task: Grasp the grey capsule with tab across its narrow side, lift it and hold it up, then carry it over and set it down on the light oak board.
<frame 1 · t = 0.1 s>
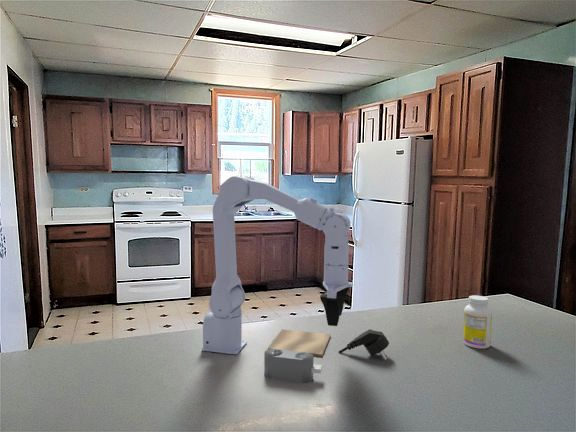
hand: (334, 320, 98), 10 cm above the countertop, tool pointing down, fingers open, 7 cm apart
oak board: (300, 343, 109), on the countertop
grey capsule with tab: (288, 376, 91), on the countertop
supplement bottle: (476, 345, 110), on the countertop
power plug: (363, 356, 102), on the countertop
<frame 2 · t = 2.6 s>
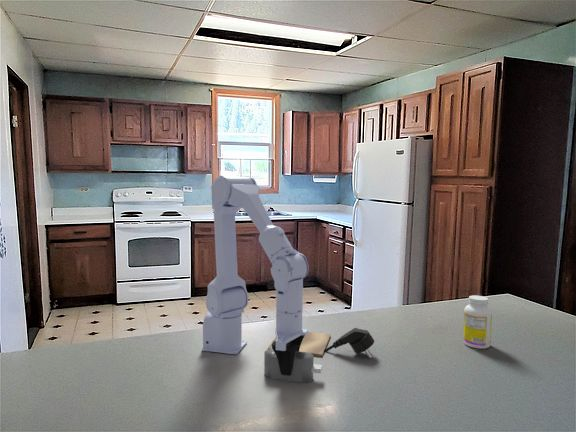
hand: (288, 369, 91), 1 cm above the countertop, tool pointing down, fingers closed on grey capsule with tab, 4 cm apart
grey capsule with tab: (288, 376, 91), on the countertop, touching gripper
power plug: (348, 354, 103), on the countertop
everything else where it was.
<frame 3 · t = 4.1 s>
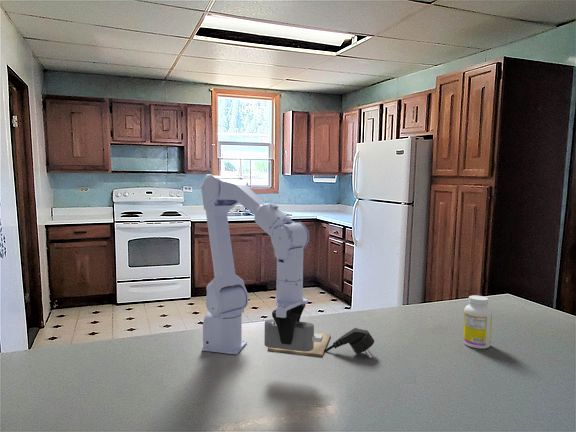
hand: (288, 339, 90), 8 cm above the countertop, tool pointing down, fingers closed on grey capsule with tab, 4 cm apart
grey capsule with tab: (288, 346, 90), point 7 cm above the countertop, touching gripper
everything else where it was.
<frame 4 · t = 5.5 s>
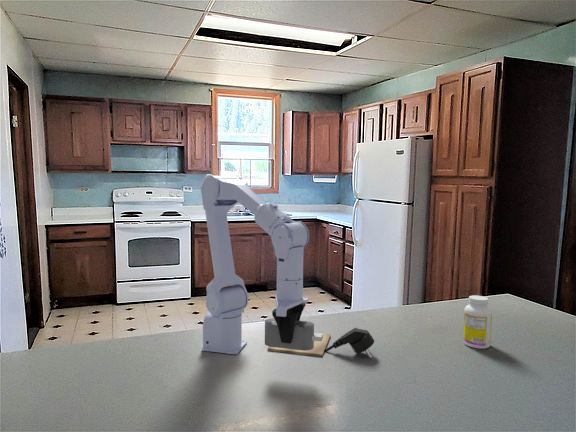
hand: (289, 338, 90), 8 cm above the countertop, tool pointing down, fingers closed on grey capsule with tab, 4 cm apart
grey capsule with tab: (288, 345, 90), point 7 cm above the countertop, touching gripper
everything else where it was.
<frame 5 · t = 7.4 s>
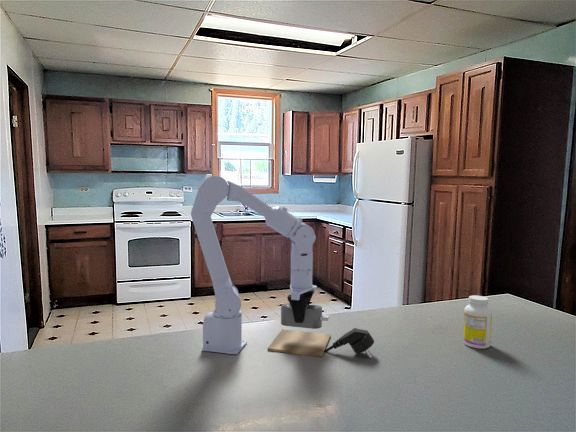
hand: (300, 319, 109), 6 cm above the countertop, tool pointing down, fingers closed on grey capsule with tab, 4 cm apart
grey capsule with tab: (301, 324, 109), point 5 cm above the countertop, touching gripper
power plug: (348, 355, 103), on the countertop, touching oak board
everything else where it was.
when the fingers open (4 cm above the countertop, at t = 8.7 s): grey capsule with tab drops 1 cm, resting on oak board.
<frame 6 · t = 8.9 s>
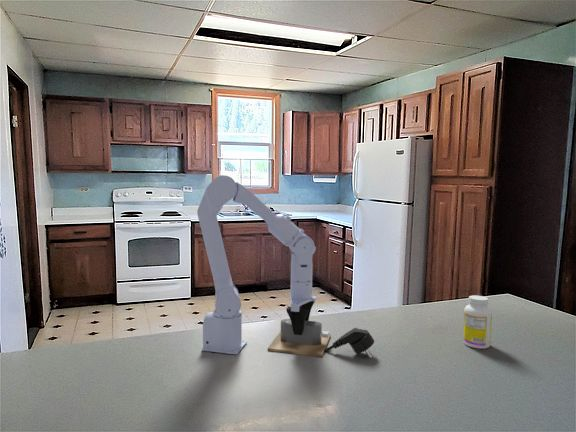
hand: (300, 330, 109), 4 cm above the countertop, tool pointing down, fingers open, 6 cm apart
grey capsule with tab: (300, 340, 109), point 1 cm above the countertop, touching oak board
power plug: (348, 355, 103), on the countertop
everything else where it was.
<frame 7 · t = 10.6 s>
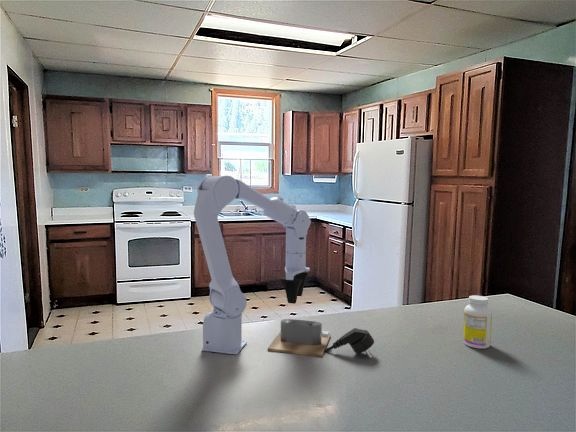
hand: (295, 299, 117), 9 cm above the countertop, tool pointing down, fingers open, 7 cm apart
nothing on the countertop moved.
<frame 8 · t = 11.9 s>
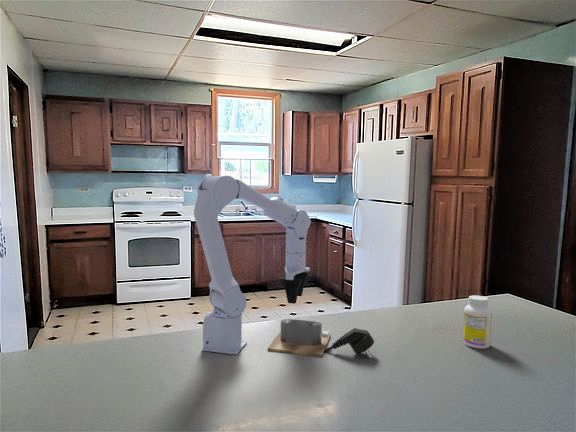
hand: (295, 299, 117), 9 cm above the countertop, tool pointing down, fingers open, 7 cm apart
power plug: (348, 355, 103), on the countertop, touching oak board
everything else where it was.
at the end: grey capsule with tab inside the target area on the oak board (0.1 cm from its centre), point 0.6 cm above the oak board's base; grey capsule with tab tilted 0°; the gripper is holding nothing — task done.
